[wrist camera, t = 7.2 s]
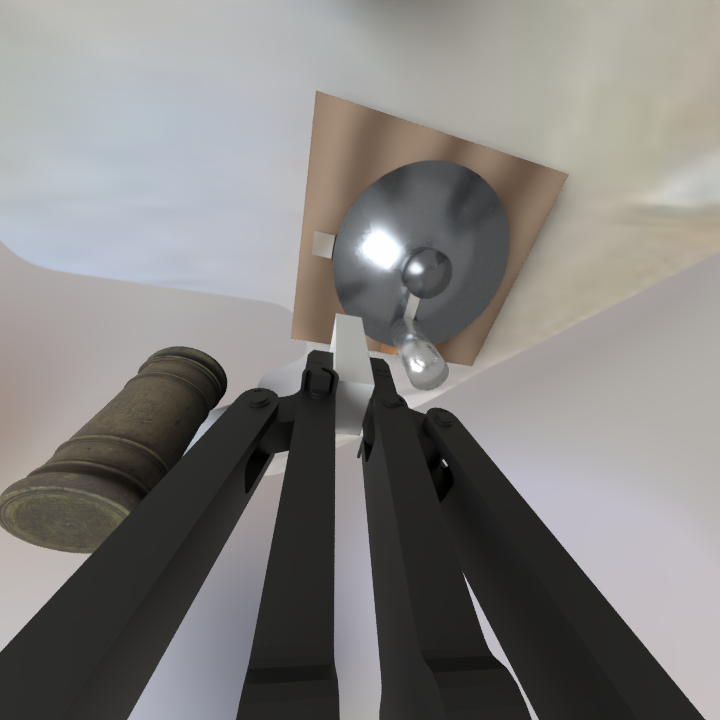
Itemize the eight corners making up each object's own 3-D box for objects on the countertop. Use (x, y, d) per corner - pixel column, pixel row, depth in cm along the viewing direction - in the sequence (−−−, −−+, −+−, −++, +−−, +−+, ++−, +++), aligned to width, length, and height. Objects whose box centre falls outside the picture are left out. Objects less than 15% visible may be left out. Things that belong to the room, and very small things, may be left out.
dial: (348, 140, 20) (360, 95, 12) (528, 187, 23) (644, 179, 15) (323, 329, 28) (320, 385, 20) (460, 347, 31) (509, 403, 22)
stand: (545, 177, 26) (571, 174, 23) (461, 354, 35) (473, 367, 33) (317, 103, 22) (315, 88, 19) (294, 327, 31) (290, 339, 28)
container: (133, 354, 31) (-61, 503, 16) (206, 337, 31) (82, 471, 15) (176, 410, 36) (59, 567, 20) (240, 395, 36) (171, 543, 20)
